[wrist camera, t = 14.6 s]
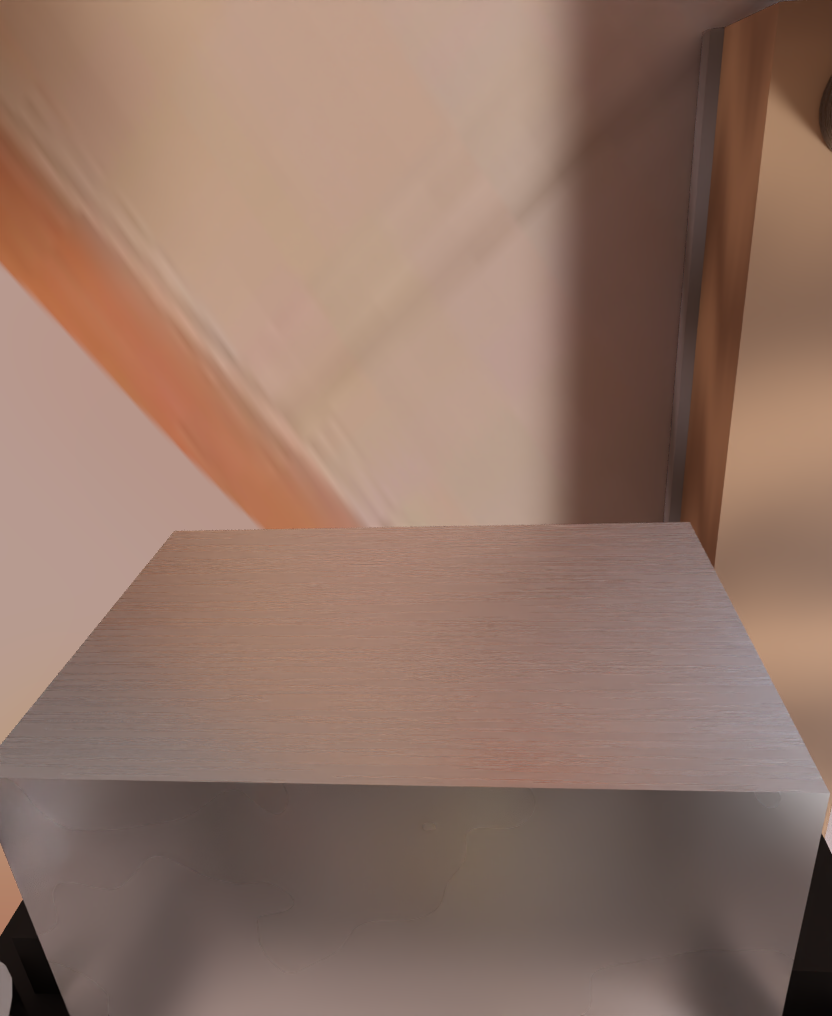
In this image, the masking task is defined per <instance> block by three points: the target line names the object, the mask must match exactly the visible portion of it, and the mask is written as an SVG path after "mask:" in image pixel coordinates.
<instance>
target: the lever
mask: <svg viewBox="0 0 832 1016" xmlns="http://www.w3.org/2000/svg"><path fill="white" fill-rule="evenodd" d="M819 124H820V129H821V133H822V136H823V139H824V141H825V142H826V144H827V146H828V147H829V148H830V150H831V151H832V76H831V77H830V79H829V81H828V83H827V85H826V87H825V90H824V92H823V95H822V99H821V102H820V109H819Z"/></svg>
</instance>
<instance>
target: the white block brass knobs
mask: <svg viewBox="0 0 832 1016" xmlns="http://www.w3.org/2000/svg"><path fill="white" fill-rule="evenodd" d="M829 796H830V792H829V790H828V788H827V786H826V785H825V783H824V781H823V779H822V777H821V775H820V773H819V771H818V769H817V767H816V765H815V763H814V761H813V759H812V757H811V756H810V754H809V752H808V750H807V748H806V746H805V744H804V742H803V740H802V738H801V736H800V734H799V732H798V730H797V728H796V727H795V725H794V723H793V721H792V719H791V717H790V715H789V713H788V711H787V709H786V707H785V705H784V703H783V701H782V699H781V698H780V696H779V694H778V692H777V690H776V688H775V686H774V684H773V682H772V680H771V678H770V676H769V674H768V672H767V670H766V669H765V667H764V665H763V663H762V661H761V659H760V657H759V655H758V653H757V651H756V649H755V647H754V645H753V643H752V641H751V640H750V638H749V636H748V634H747V632H746V630H745V628H744V626H743V624H742V622H741V620H740V618H739V616H738V614H737V612H736V611H735V609H734V607H733V605H732V603H731V601H730V599H729V597H728V595H727V593H726V591H725V589H724V587H723V585H722V583H721V582H720V580H719V578H718V576H717V574H716V572H715V570H714V568H713V566H712V564H711V562H710V560H709V558H708V556H707V554H706V553H705V551H704V549H703V547H702V545H701V543H700V541H699V539H698V537H697V535H696V533H695V531H694V529H693V527H692V525H691V524H690V522H663V523H606V524H549V525H492V526H435V527H377V528H320V529H263V530H206V531H174V532H173V533H172V534H171V536H170V537H169V538H168V539H167V541H166V542H165V543H164V544H163V546H162V547H161V548H160V549H159V550H158V552H157V553H156V554H155V555H154V557H153V558H152V559H151V560H150V562H149V563H148V564H147V565H146V566H145V568H144V569H143V570H142V571H141V573H140V574H139V575H138V576H137V578H136V579H135V580H134V581H133V582H132V584H131V585H130V586H129V587H128V589H127V590H126V591H125V592H124V594H123V595H122V596H121V597H120V598H119V600H118V601H117V602H116V603H115V605H114V606H113V607H112V608H111V610H110V611H109V612H108V613H107V615H106V616H105V617H104V618H103V619H102V621H101V622H100V623H99V624H98V626H97V627H96V628H95V629H94V630H93V632H92V633H91V634H90V635H89V637H88V638H87V639H86V640H85V642H84V643H83V644H82V645H81V646H80V648H79V649H78V650H77V651H76V653H75V654H74V655H73V656H72V658H71V659H70V660H69V661H68V662H67V664H66V665H65V666H64V667H63V669H62V670H61V671H60V672H59V674H58V675H57V676H56V677H55V678H54V680H53V681H52V682H51V683H50V685H49V686H48V687H47V688H46V690H45V691H44V692H43V693H42V695H41V696H40V697H39V698H38V699H37V701H36V702H35V703H34V704H33V706H32V707H31V708H30V709H29V710H28V712H27V713H26V714H25V715H24V717H23V718H22V719H21V720H20V722H19V723H18V724H17V725H16V726H15V728H14V729H13V730H12V731H11V733H10V734H9V735H8V737H6V739H5V740H4V741H3V742H2V744H1V745H0V843H1V846H2V848H3V851H4V853H5V856H6V858H7V861H8V863H9V866H10V868H11V871H12V873H13V876H14V878H15V880H16V883H17V886H18V888H19V890H20V893H21V895H22V898H23V900H24V903H25V905H26V908H27V910H28V913H29V915H30V918H31V920H32V923H33V925H34V928H35V930H36V933H37V935H38V938H39V940H40V943H41V945H42V948H43V950H44V953H45V955H46V958H47V960H48V963H49V965H50V967H51V970H52V972H53V975H54V977H55V980H56V982H57V985H58V987H59V990H60V992H61V995H62V997H63V1000H64V1002H65V1005H66V1007H67V1010H68V1012H69V1015H70V1016H782V1013H783V1008H784V1004H785V999H786V994H787V990H788V985H789V980H790V976H791V971H792V967H793V962H794V957H795V953H796V948H797V944H798V939H799V934H800V930H801V925H802V920H803V916H804V911H805V907H806V902H807V897H808V893H809V888H810V884H811V879H812V874H813V870H814V865H815V860H816V856H817V851H818V847H819V842H820V837H821V833H822V828H823V824H824V819H825V814H826V810H827V805H828V800H829Z"/></svg>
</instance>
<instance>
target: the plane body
mask: <svg viewBox="0 0 832 1016" xmlns="http://www.w3.org/2000/svg"><path fill="white" fill-rule="evenodd" d="M831 76H832V0H795V1H783V2H778V3H776V4H774V5H772V6H769V7H767V8H765V9H763V10H761V11H759V12H757V13H755V14H752V15H750V16H748V17H746V18H744V19H742V20H740V21H738V22H735V23H733V24H731V25H729V26H727V27H725V28H713V29H709V30H707V31H705V32H703V36H702V49H701V61H700V74H699V86H698V99H697V111H696V123H695V136H694V148H693V161H692V173H691V185H690V198H689V210H688V223H687V235H686V247H685V260H684V272H683V285H682V297H681V310H680V322H679V334H678V347H677V359H676V372H675V384H674V396H673V409H672V421H671V434H670V446H669V459H668V471H667V483H666V496H665V508H664V521H663V522H690V524H691V525H692V527H693V529H694V531H695V533H696V535H697V537H698V539H699V541H700V543H701V545H702V547H703V549H704V551H705V553H706V554H707V556H708V558H709V560H710V562H711V564H712V566H713V568H714V570H715V572H716V574H717V576H718V578H719V580H720V582H721V583H722V585H723V587H724V589H725V591H726V593H727V595H728V597H729V599H730V601H731V603H732V605H733V607H734V609H735V611H736V612H737V614H738V616H739V618H740V620H741V622H742V624H743V626H744V628H745V630H746V632H747V634H748V636H749V638H750V640H751V641H752V643H753V645H754V647H755V649H756V651H757V653H758V655H759V657H760V659H761V661H762V663H763V665H764V667H765V669H766V670H767V672H768V674H769V676H770V678H771V680H772V682H773V684H774V686H775V688H776V690H777V692H778V694H779V696H780V698H781V699H782V701H783V703H784V705H785V707H786V709H787V711H788V713H789V715H790V717H791V719H792V721H793V723H794V725H795V727H796V728H797V730H798V732H799V734H800V736H801V738H802V740H803V742H804V744H805V746H806V748H807V750H808V752H809V754H810V756H811V757H812V759H813V761H814V763H815V765H816V767H817V769H818V771H819V773H820V775H821V777H822V779H823V781H824V783H825V785H826V786H827V788H828V790H829V792H830V796H829V800H828V805H827V810H826V814H825V819H824V824H823V828H822V835H823V837H824V839H825V834H826V830H827V825H828V821H829V816H830V812H831V807H832V151H831V150H830V148H829V147H828V146H827V144H826V142H825V141H824V139H823V136H822V133H821V129H820V124H819V109H820V102H821V99H822V95H823V92H824V90H825V87H826V85H827V83H828V81H829V79H830V77H831Z"/></svg>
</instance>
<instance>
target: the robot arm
mask: <svg viewBox="0 0 832 1016" xmlns="http://www.w3.org/2000/svg"><path fill="white" fill-rule="evenodd" d="M0 1016H70V1015H69V1012H68V1010H67V1007H66V1005H65V1002H64V1000H63V997H62V995H61V992H60V990H59V987H58V985H57V982H56V980H55V977H54V975H53V972H52V970H51V967H50V965H49V963H48V960H47V958H46V955H45V953H44V950H43V948H42V945H41V943H40V940H39V938H38V935H37V933H36V930H35V928H34V925H33V923H32V920H31V918H30V915H29V913H28V910H27V908H26V905H25V903H24V900H22V902H21V903H20V905H19V907H18V909H17V910H16V912H15V913H14V915H13V916H12V918H11V920H10V922H9V923H8V925H7V926H6V928H5V929H4V931H3V933H2V934H1V936H0ZM782 1016H832V854H831V852H830V849H829V847H828V845H827V843H826V841H825V839H824V837H823V835H822V833H821V837H820V842H819V847H818V851H817V856H816V860H815V865H814V870H813V874H812V879H811V884H810V888H809V893H808V897H807V902H806V907H805V911H804V916H803V920H802V925H801V930H800V934H799V939H798V944H797V948H796V953H795V957H794V962H793V967H792V971H791V976H790V980H789V985H788V990H787V994H786V999H785V1004H784V1008H783V1013H782Z"/></svg>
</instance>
